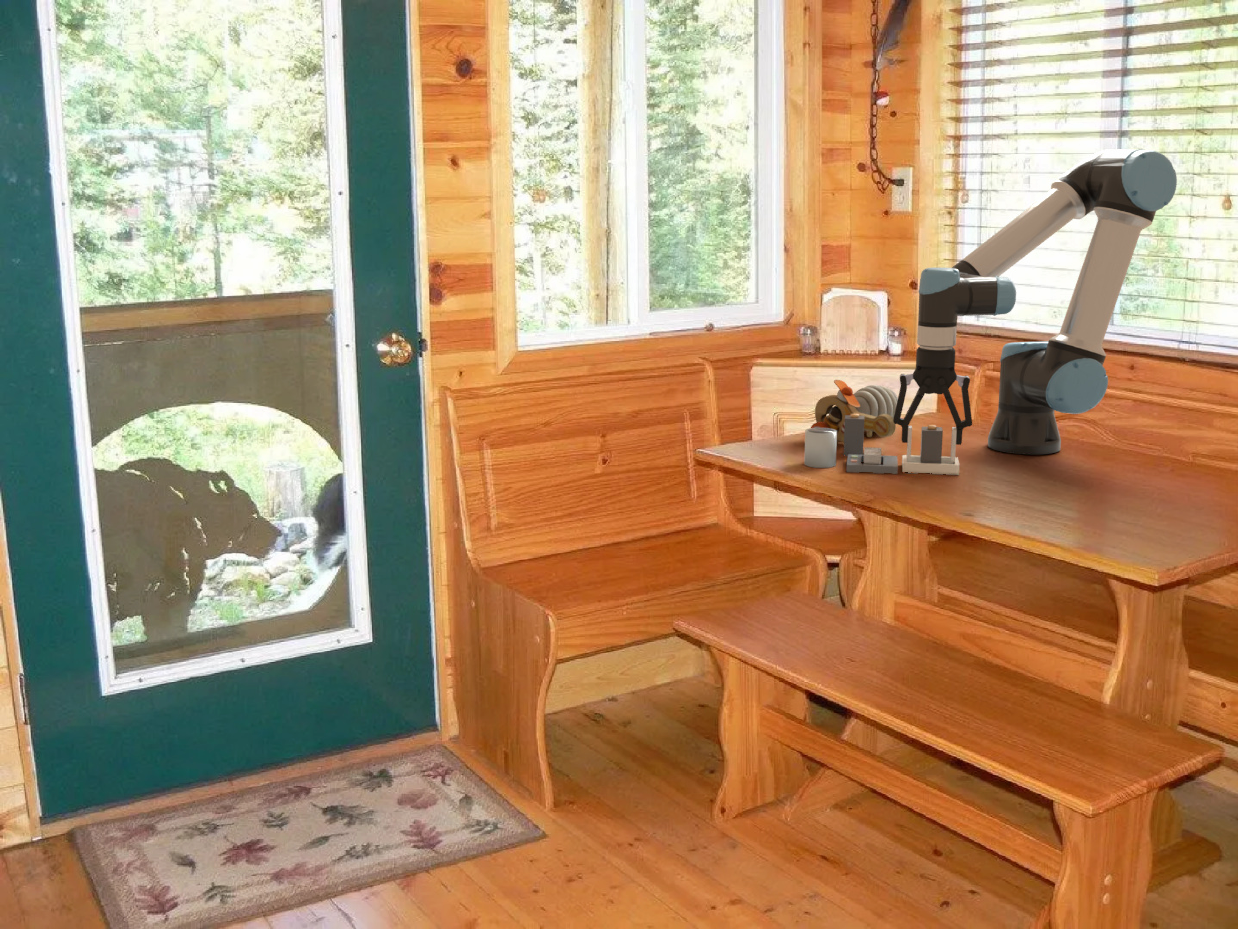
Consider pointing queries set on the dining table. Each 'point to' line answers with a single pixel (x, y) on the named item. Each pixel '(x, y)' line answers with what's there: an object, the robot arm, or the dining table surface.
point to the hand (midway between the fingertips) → (930, 459)
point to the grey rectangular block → (872, 456)
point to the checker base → (888, 465)
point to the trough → (930, 466)
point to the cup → (820, 447)
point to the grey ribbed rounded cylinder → (876, 401)
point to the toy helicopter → (846, 406)
